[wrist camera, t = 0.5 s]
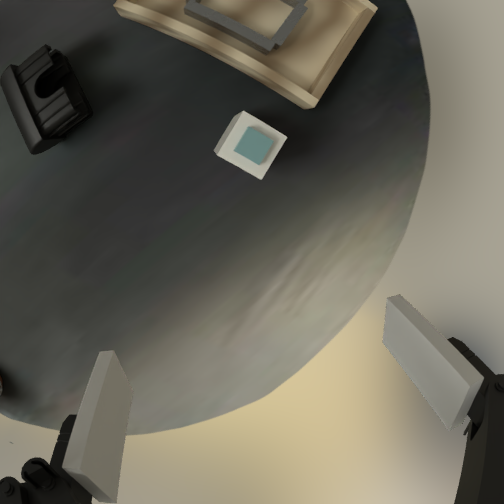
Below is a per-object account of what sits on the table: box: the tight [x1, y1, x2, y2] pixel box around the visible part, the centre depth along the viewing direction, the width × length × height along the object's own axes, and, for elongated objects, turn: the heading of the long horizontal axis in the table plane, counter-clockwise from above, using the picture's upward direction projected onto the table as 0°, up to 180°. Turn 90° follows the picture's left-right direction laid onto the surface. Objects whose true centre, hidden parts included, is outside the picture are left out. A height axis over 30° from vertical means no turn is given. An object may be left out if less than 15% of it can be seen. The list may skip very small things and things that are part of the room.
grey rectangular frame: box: [184, 0, 308, 55], centre depth 26 cm, size 11×8×2 cm
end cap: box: [0, 44, 93, 154], centre depth 25 cm, size 10×7×7 cm
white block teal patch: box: [214, 111, 287, 180], centre depth 29 cm, size 4×4×9 cm
